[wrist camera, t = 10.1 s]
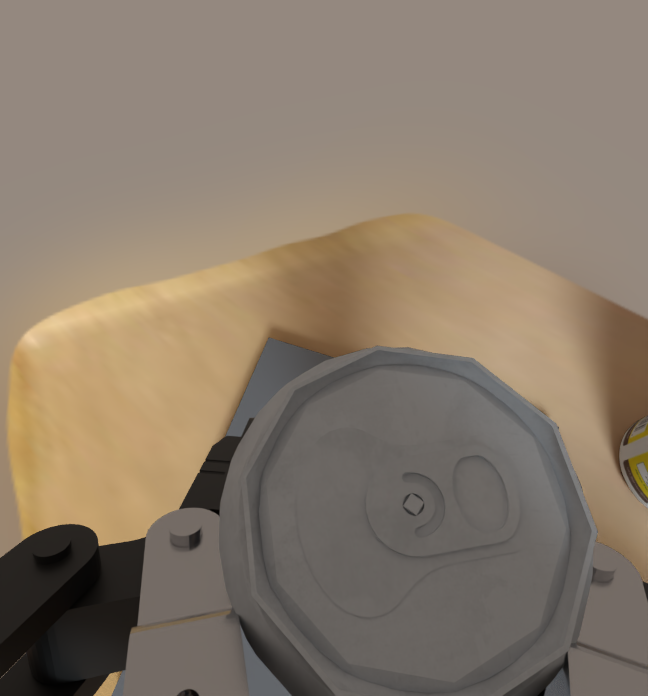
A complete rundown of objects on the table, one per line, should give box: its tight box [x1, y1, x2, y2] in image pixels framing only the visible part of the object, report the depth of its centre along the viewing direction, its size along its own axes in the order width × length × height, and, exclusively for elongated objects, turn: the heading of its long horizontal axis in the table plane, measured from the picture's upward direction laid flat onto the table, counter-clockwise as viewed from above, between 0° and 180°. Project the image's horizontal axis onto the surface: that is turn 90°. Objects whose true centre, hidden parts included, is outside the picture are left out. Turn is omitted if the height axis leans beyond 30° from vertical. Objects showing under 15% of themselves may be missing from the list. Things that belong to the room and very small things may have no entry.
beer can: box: [219, 346, 598, 696], centre depth 11 cm, size 5×5×12 cm
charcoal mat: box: [112, 338, 559, 696], centre depth 23 cm, size 16×18×1 cm
